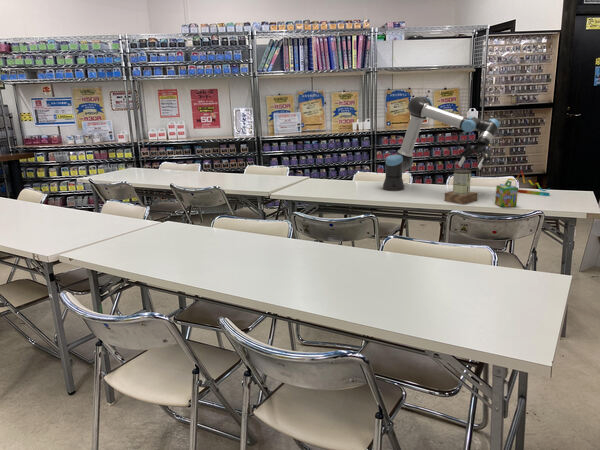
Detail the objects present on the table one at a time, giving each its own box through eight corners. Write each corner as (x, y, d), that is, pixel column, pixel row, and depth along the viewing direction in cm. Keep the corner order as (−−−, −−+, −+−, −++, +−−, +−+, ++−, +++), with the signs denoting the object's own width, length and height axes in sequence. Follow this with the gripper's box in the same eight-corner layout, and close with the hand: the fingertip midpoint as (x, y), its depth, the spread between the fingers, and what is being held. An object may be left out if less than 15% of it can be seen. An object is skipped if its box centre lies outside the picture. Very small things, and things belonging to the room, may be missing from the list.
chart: (549, 195, 300) (552, 172, 295) (547, 196, 297) (550, 173, 293) (501, 190, 319) (503, 168, 315) (499, 190, 317) (501, 168, 313)
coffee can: (450, 191, 297) (452, 169, 293) (467, 191, 296) (468, 169, 292) (454, 194, 287) (455, 172, 283) (471, 194, 286) (473, 171, 282)
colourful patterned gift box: (494, 204, 283) (496, 179, 279) (508, 203, 284) (511, 179, 279) (501, 207, 274) (504, 182, 270) (516, 206, 275) (519, 182, 271)
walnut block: (444, 200, 294) (445, 193, 293) (457, 197, 302) (458, 189, 301) (464, 204, 284) (464, 196, 282) (477, 200, 292) (477, 192, 290)
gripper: (504, 145, 288) (489, 172, 284) (468, 142, 307) (453, 168, 303) (501, 137, 284) (485, 165, 279) (464, 135, 303) (449, 161, 298)
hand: (468, 166), depth 291 cm, fingers open, 13 cm apart
